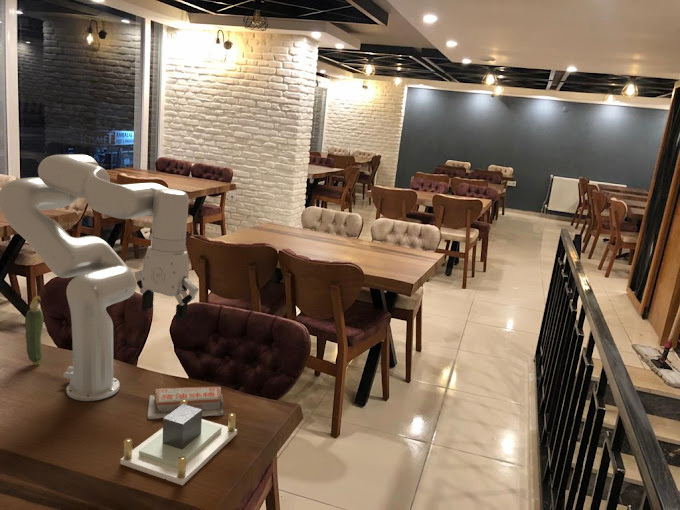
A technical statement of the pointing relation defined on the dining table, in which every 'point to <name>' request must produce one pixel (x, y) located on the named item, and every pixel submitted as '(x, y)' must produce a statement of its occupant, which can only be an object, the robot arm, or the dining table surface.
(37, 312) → the vegetable
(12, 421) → the dining table surface
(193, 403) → the packaged product
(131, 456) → the chassis
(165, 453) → the board
